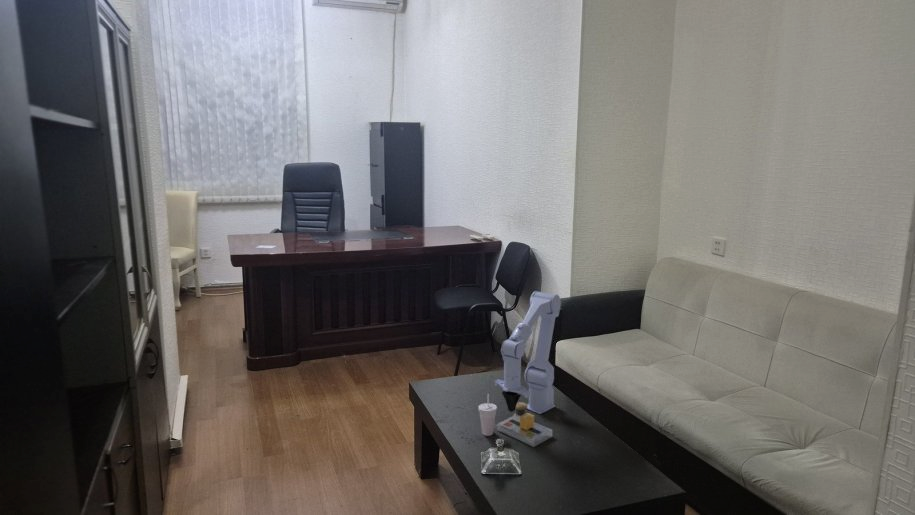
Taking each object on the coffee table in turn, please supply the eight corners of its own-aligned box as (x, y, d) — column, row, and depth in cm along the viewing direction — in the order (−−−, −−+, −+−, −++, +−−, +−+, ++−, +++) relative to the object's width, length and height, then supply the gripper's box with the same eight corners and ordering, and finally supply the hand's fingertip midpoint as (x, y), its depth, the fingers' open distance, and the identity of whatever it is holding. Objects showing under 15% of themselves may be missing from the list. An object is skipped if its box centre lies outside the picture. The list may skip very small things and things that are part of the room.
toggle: (527, 423, 205) (527, 412, 204) (534, 426, 203) (534, 415, 202) (519, 427, 202) (520, 415, 202) (526, 430, 200) (526, 418, 200)
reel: (519, 412, 220) (519, 401, 219) (530, 417, 216) (530, 405, 215) (510, 417, 216) (510, 405, 215) (521, 421, 213) (521, 409, 212)
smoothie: (498, 430, 206) (499, 392, 203) (493, 438, 200) (494, 400, 197) (481, 427, 208) (481, 390, 205) (475, 435, 202) (475, 397, 199)
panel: (516, 420, 213) (516, 414, 213) (552, 436, 202) (552, 429, 201) (497, 430, 206) (497, 423, 206) (533, 447, 195) (534, 439, 194)
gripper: (488, 371, 207) (488, 407, 209) (521, 383, 196) (520, 421, 199) (502, 365, 211) (502, 401, 214) (534, 377, 201) (533, 414, 204)
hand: (511, 410), depth 207 cm, fingers closed
